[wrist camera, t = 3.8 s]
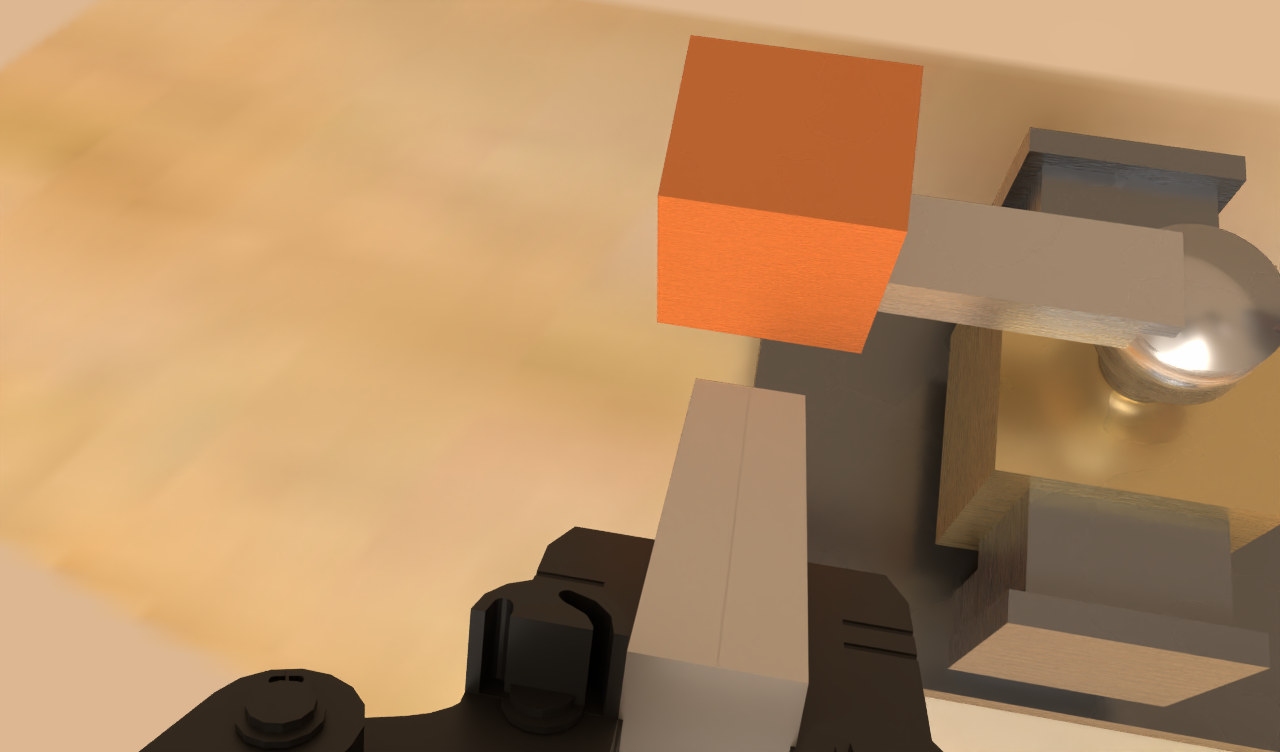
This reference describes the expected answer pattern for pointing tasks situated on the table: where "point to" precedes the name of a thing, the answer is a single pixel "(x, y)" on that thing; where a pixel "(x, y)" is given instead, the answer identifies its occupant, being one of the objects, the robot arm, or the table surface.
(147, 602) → the table surface
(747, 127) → the valve lever
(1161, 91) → the table surface
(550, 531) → the table surface
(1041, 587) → the valve body
